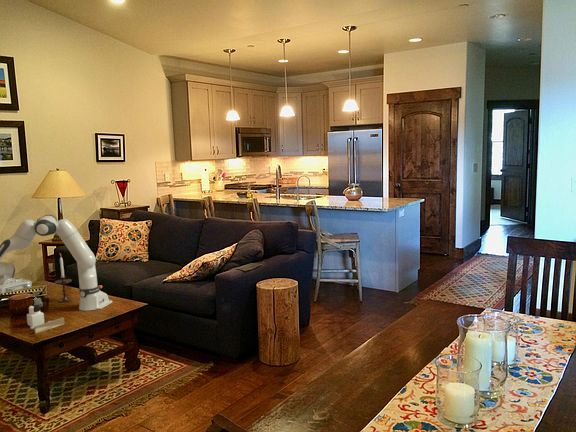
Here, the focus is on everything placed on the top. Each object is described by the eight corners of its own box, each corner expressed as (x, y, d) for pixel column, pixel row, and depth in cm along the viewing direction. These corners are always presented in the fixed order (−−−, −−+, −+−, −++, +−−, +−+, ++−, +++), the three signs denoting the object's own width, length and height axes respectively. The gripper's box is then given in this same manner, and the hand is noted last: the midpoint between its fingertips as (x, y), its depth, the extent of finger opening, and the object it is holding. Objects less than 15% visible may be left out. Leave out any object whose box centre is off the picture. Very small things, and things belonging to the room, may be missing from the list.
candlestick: (53, 302, 337) (48, 253, 332) (64, 297, 347) (59, 250, 342) (65, 303, 334) (61, 254, 329) (76, 298, 344) (72, 250, 339)
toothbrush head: (33, 294, 346) (42, 296, 327) (34, 303, 346) (44, 306, 327) (25, 295, 342) (34, 298, 323) (26, 305, 342) (35, 308, 323)
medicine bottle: (39, 321, 298) (37, 303, 296) (44, 324, 293) (42, 305, 292) (27, 325, 292) (25, 306, 291) (32, 327, 288) (30, 308, 286)
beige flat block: (25, 330, 283) (24, 324, 282) (53, 321, 298) (53, 314, 298) (36, 333, 277) (35, 327, 277) (64, 324, 292) (63, 317, 292)
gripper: (-9, 284, 293) (4, 287, 286) (23, 277, 310) (36, 280, 304) (-9, 294, 293) (4, 297, 287) (24, 286, 311) (37, 289, 304)
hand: (21, 288), depth 295 cm, fingers open, 8 cm apart
